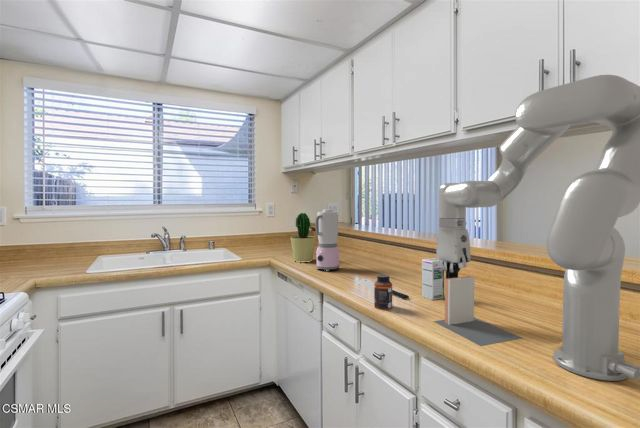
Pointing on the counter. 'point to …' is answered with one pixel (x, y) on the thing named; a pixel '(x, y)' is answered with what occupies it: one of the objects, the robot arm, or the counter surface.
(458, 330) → the mat
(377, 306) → the supplement bottle
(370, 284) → the kitchen cleaver
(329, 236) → the blender
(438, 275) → the syrup box
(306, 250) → the potted cactus
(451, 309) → the tile
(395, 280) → the counter surface
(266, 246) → the counter surface
